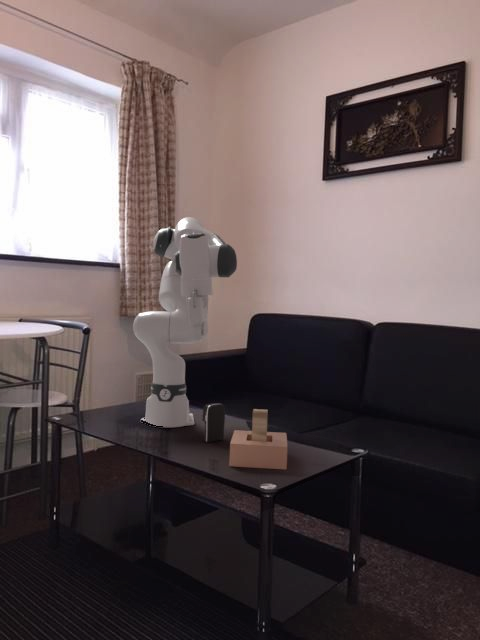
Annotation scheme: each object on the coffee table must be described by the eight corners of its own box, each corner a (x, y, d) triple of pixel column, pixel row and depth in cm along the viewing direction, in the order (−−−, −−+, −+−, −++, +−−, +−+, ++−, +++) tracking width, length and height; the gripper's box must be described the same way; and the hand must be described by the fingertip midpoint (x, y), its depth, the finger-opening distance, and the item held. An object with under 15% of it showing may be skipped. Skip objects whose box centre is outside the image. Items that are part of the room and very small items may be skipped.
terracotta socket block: (233, 450, 156) (234, 430, 156) (285, 453, 155) (286, 432, 155) (229, 466, 141) (230, 443, 141) (286, 469, 140) (287, 446, 140)
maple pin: (251, 451, 150) (253, 409, 150) (266, 452, 150) (267, 409, 149) (251, 455, 146) (252, 411, 146) (265, 456, 146) (267, 412, 145)
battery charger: (216, 437, 171) (218, 401, 170) (224, 439, 168) (226, 403, 167) (199, 440, 166) (201, 403, 165) (207, 443, 163) (209, 405, 163)
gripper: (205, 290, 143) (208, 341, 144) (210, 288, 164) (212, 333, 165) (181, 291, 143) (184, 342, 145) (189, 289, 164) (192, 334, 165)
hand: (199, 337), depth 155 cm, fingers open, 8 cm apart
